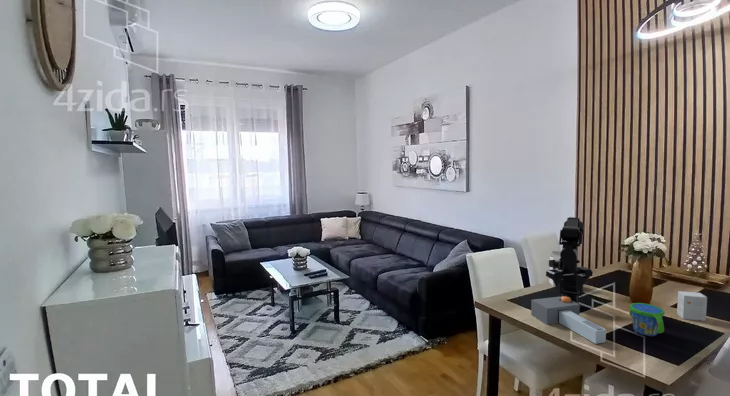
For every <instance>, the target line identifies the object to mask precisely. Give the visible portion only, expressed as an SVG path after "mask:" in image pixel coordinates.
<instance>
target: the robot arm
mask: <svg viewBox="0 0 730 396" xmlns="http://www.w3.org/2000/svg"><path fill="white" fill-rule="evenodd" d="M566 219H567V220H565V221H564V223H563V226H562V229H560V231H559V242H558V243H559V244H558V245H559V246H562V247H561V248H562V249H561V253H560V257H561V258H560V259H559V261H557V262H556V261H555V260H550V259H549V260H548V267H549V268H550V267H553V270H550V269H548V270H546V271H545V276H546V277H547V278H550V279H552V280H553V281H554V283H555V286H556V287H555V289H556V292H557V294H559V295H560V294H562V296H566V297H570V298H571V301H573V302H576V303H578V304H580V297H581V296H583V295H584V285H585V284H586V282H587V281H588V280H589V279H591V277H593V273H594V272H593V270H592V269H591V268H589V267H585V266H578V264H580V262H581V260H579V259H578V253H579V252H578V250H579V247H581V245H583V236H584V235H585V223H584V222H582V221H581V218H579V217H574V216H573V217H572V216H570V217H567V218H566ZM556 268H558V270H562V271H558V270H555V269H556ZM580 308H581V309H582V306H581V305H580Z"/></svg>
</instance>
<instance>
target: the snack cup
mask: <svg viewBox="0 0 730 396" xmlns="http://www.w3.org/2000/svg"><path fill="white" fill-rule="evenodd" d="M629 316H630V317H631V318H632V319H631V321H632V328H633V330H634V331H635V332H636V333H638V334H640V335H643V336H646V337H656V336H658V334H662V333H664V332H665V326H664V320H663V319H664V318H663V317H664V316H665V311H664V309H662V308H661V307H659V306H657V305H653V304H651V303H650V304H649V303H643V302H635V303H634V302H633V303H631V304H630V305H629Z"/></svg>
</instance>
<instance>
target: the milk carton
mask: <svg viewBox="0 0 730 396" xmlns="http://www.w3.org/2000/svg"><path fill="white" fill-rule="evenodd" d="M561 251H562V250H561ZM561 251H560V250H552V251H551V254H550V256H549V260H555V261H556V262H557V261H559V259H560V258H561V257H560V253H561ZM549 270H553V267H549ZM555 270H558V268H556V269H555ZM558 271H562V270H558ZM548 278H549V277H548ZM548 282H549V284H550V285H551V286H552V287H553V288H556V286H555V283H554V281H553V280H552V279H550V278H549V281H548Z"/></svg>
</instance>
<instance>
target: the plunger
mask: <svg viewBox="0 0 730 396" xmlns="http://www.w3.org/2000/svg"><path fill="white" fill-rule="evenodd" d="M561 296H562V297H561V301H562V302H564V303H570V301H571V298H570V297H566V296H563V295H561Z"/></svg>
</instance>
